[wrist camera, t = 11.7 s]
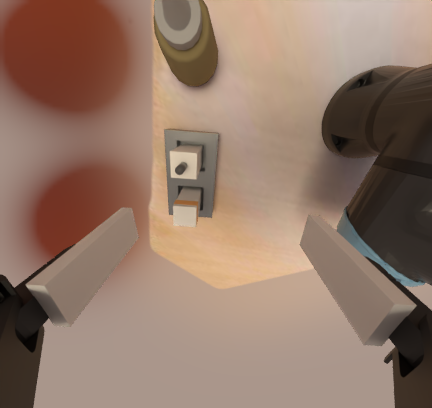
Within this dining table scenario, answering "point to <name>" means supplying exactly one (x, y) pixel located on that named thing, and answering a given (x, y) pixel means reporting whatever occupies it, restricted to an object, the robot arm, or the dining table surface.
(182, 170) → the twin plug
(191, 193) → the plug
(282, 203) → the dining table surface
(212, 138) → the grey flat block
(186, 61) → the squeeze bottle
